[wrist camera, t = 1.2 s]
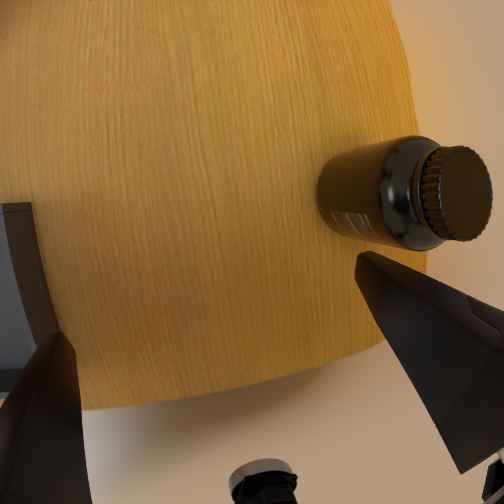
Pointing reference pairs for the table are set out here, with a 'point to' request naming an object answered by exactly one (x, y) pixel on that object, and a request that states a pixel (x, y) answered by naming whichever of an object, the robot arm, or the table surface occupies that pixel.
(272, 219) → the table surface
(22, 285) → the bin
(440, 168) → the supplement bottle
